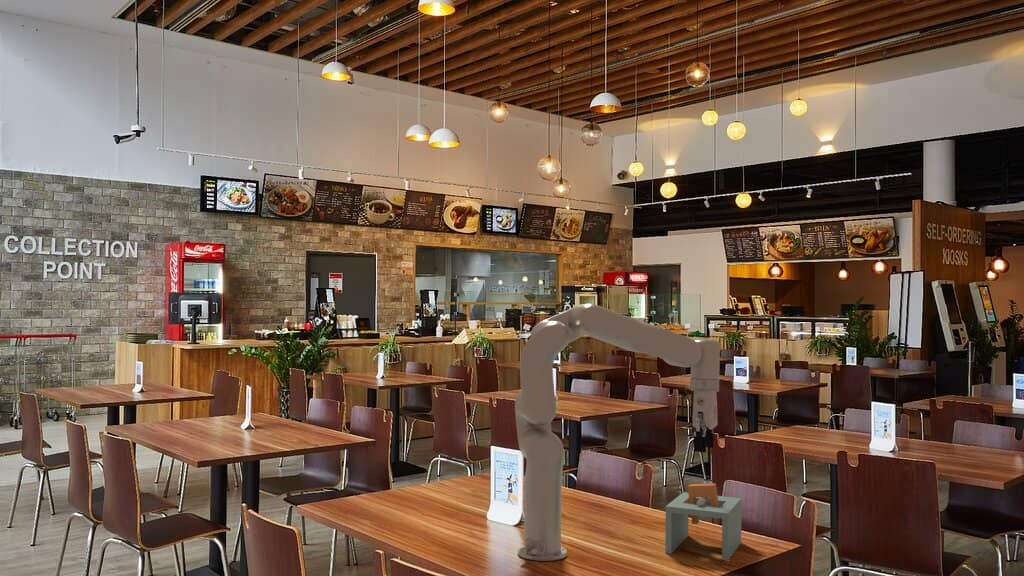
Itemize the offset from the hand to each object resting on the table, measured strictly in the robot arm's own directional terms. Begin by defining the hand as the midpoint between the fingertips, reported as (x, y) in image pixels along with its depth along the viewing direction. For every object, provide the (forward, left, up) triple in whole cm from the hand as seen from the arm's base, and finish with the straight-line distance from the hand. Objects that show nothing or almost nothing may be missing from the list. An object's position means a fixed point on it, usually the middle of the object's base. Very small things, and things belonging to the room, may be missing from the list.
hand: (703, 449), depth 215 cm
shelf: (0, 0, -26) cm, 26 cm away
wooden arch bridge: (0, -1, -19) cm, 19 cm away
